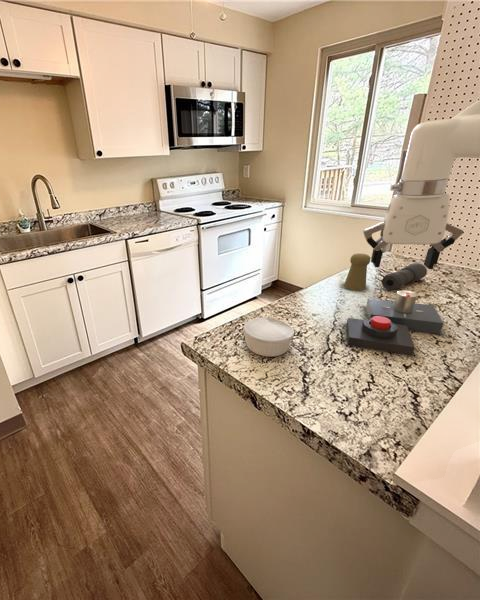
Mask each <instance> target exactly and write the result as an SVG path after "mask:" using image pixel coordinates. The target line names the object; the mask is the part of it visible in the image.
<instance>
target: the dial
mask: <svg viewBox="0 0 480 600" xmlns="http://www.w3.org/2000/svg"><path fill="white" fill-rule="evenodd" d="M417 298H418V293H417V292H414V291H410V290H398V291H397V292H396V294H395V299H394V300H393V301H394V305H393V309H394V310H395V311H398V312H402V313H411V312H412V311H413V308H414V305H415V303H416V301H417Z"/></svg>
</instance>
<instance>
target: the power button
mask: <svg viewBox="0 0 480 600" xmlns="http://www.w3.org/2000/svg"><path fill="white" fill-rule="evenodd" d="M390 323H391V320H390V319H388V318H386V317H382V316H374V317H372V320H371V324H370V325H371V326H373V327H375V328H378V329H389V327H390Z"/></svg>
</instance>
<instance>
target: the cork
mask: <svg viewBox="0 0 480 600" xmlns="http://www.w3.org/2000/svg"><path fill="white" fill-rule="evenodd" d="M349 261H350V267H349V269H348V272H347V276H346V278H345V281H344V283H343V287H344V289H346V290H349V291H356V292H357V291H358V292H360V291H364V290H366V289H367V273H368V271H367V270H368V266H369V264H370V263H371V256H370V255H369V254H366V253H353V254H352V255H351V256H350V259H349Z"/></svg>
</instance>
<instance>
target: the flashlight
mask: <svg viewBox="0 0 480 600" xmlns="http://www.w3.org/2000/svg"><path fill="white" fill-rule="evenodd" d="M427 275H428V268H427V267H426V266H425V265H424V263H421V262H413V263H411V264H407V265H406V266H404V267H403V268H401V269H400V270H399V271H394V272H390V273H387V274H386V275H384V276H383V277H382V279H381V286H382V287H383V288H384V289H385V290H387V291H388V290H389V291H396V290H399V289H401V288H403V286H405V285H406V284H411V283H413V282H416V281H419V280H422V279H424V278H425V277H426V276H427Z"/></svg>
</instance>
